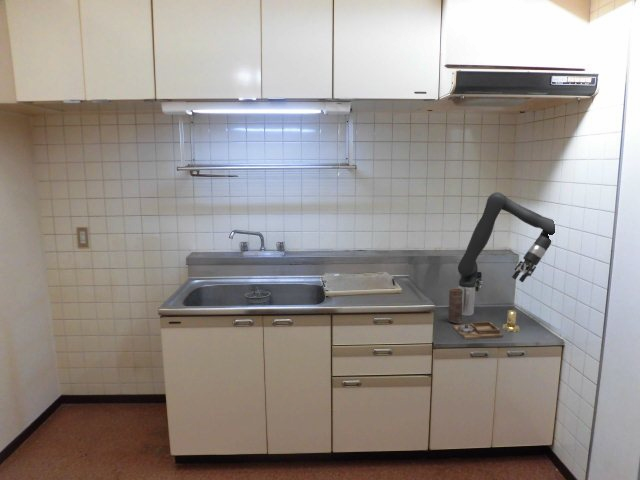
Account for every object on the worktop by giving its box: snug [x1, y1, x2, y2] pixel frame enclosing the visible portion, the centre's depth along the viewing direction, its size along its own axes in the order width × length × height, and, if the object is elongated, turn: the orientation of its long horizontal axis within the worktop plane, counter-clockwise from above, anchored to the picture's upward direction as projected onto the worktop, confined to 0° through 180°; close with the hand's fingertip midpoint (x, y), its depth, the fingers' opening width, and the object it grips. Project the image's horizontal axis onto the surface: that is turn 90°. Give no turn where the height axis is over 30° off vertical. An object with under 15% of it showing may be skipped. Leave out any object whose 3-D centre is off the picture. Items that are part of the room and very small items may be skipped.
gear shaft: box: [502, 309, 520, 333], centre depth 222 cm, size 8×8×10 cm
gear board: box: [452, 321, 504, 340], centre depth 219 cm, size 16×20×5 cm
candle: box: [447, 287, 463, 325], centre depth 232 cm, size 8×7×20 cm
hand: (517, 279), depth 219 cm, fingers open, 8 cm apart
